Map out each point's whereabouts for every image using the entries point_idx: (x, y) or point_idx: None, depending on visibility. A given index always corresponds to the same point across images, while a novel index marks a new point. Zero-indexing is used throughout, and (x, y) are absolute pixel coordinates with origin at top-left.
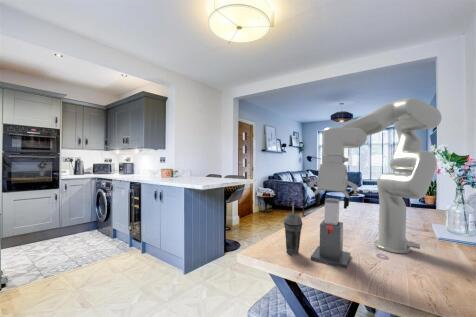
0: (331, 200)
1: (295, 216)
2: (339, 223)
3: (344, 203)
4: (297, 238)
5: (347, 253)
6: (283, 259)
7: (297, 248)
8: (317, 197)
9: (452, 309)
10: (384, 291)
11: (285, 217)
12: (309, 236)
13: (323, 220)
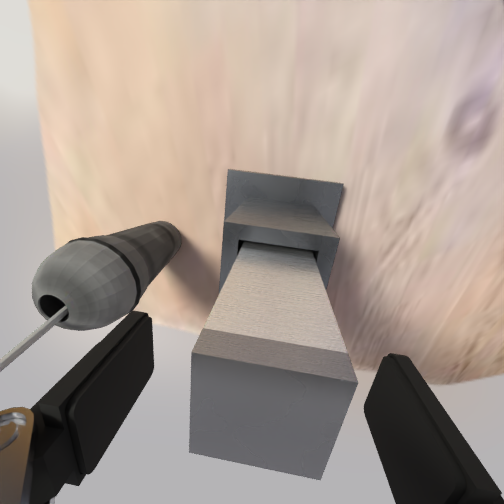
0: (256, 464)
1: (85, 327)
2: (316, 249)
3: (385, 458)
4: (157, 274)
5: (331, 196)
6: (160, 291)
7: (173, 255)
8: (101, 444)
9: (494, 369)
10: (381, 351)
11: (45, 305)
12: (168, 5)
13: (224, 241)
